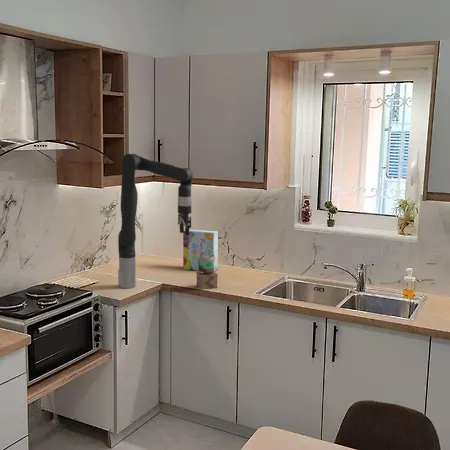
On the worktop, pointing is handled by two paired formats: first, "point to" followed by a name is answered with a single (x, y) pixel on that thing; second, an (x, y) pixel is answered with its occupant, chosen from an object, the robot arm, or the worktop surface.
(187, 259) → the snack box
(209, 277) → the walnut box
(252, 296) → the worktop surface
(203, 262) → the food container
